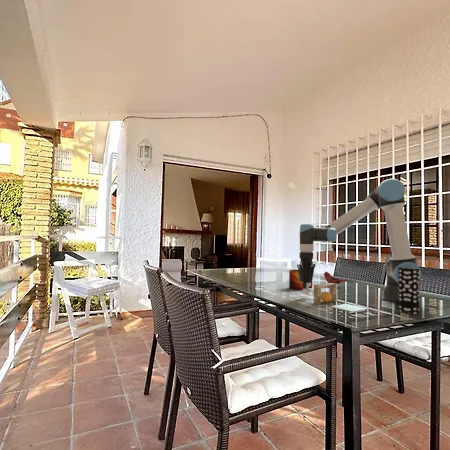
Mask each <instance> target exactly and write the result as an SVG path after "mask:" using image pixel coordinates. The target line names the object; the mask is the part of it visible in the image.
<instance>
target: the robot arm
mask: <svg viewBox="0 0 450 450" xmlns="http://www.w3.org/2000/svg"><path fill="white" fill-rule="evenodd" d="M405 194H406V187H405V185H404V183H403V182H402V181H401V180H399V179H396V178H389V179H385V180H383V181H382V182H381V183H380V184H379V185H378V186H377V187H376V188H375V189H374V190H373V191H372V192H371V193H370V194H368V195H367V196H366V199H364V200H363V201H362V202H360V203H358V204H357V205H355V206H354V207H353V208H350V210H348V211H347V212H344V214H342V215H341V216H339V217H338V218H336V219H335V220H334V221H332V222H330V223H329V224H327V225H326V226H325V227H315V226H314V224H311V223H302V224H300V226H299V259H300V261H299V264H298V263H297V264H296V267H297V270H298V271H299V278H300V281H301V282H303V290H302V294H303V295H306V296H309V294H310V288H309V286H310V283H311V281H312V282H313V280H314V274H315V273H314V272H315V268H316V263H314V262H313V259H314V250H315V249H314V247H315V246H314V242H329V243H332V242H333V243H334V242H337V235H339V234H341V233H342V232H343V231H345V230H347V229H348V228H350V227H351V226H353V225H354V224H355V223H357V222H358V221H360V220H362V219H363V218H365V217H366V216H367V215H370V213H372V212H374V211H377V210H380V209H382V210H383V212H384V213H383V214H384V219H385V224H386V228H387V235H388V240H389V246H390V251H391V257H389V258H386V263H385V265H386V284H385V285H386V286H385V289H384V291H383V294H382V300H385V301H388V302H391V303H398V268H399V267H408V268H418V269H419V281H420V280H421V278H422V271H421V269H420V267H419V266H418V262H417V259H416V256H415V255H414V254H412V250H411V245H410V240H409V235H408V229H407V223H406V219H405V213H404V212H405V211H404V206H405V205H406V200H405V199H406V198H405Z"/></svg>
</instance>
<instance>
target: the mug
mask: <svg viewBox="0 0 450 450" xmlns="http://www.w3.org/2000/svg"><path fill="white" fill-rule="evenodd" d="M288 273H289V274H288V275H289V278H288V289H289V290H292V289H293V291H303V282H301V281H300V278H299V271H298V269H289V271H288ZM309 289H311V290H312V289H313V280H312V281H311V283H309Z"/></svg>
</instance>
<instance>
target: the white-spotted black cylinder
mask: <svg viewBox="0 0 450 450" xmlns="http://www.w3.org/2000/svg"><path fill="white" fill-rule="evenodd" d="M397 304H398V308H397V309H398V311H399V312H401V313H404V314H414V315H416V314H420V280H419V269H418V268H408V267H399V268H398V302H397Z"/></svg>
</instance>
